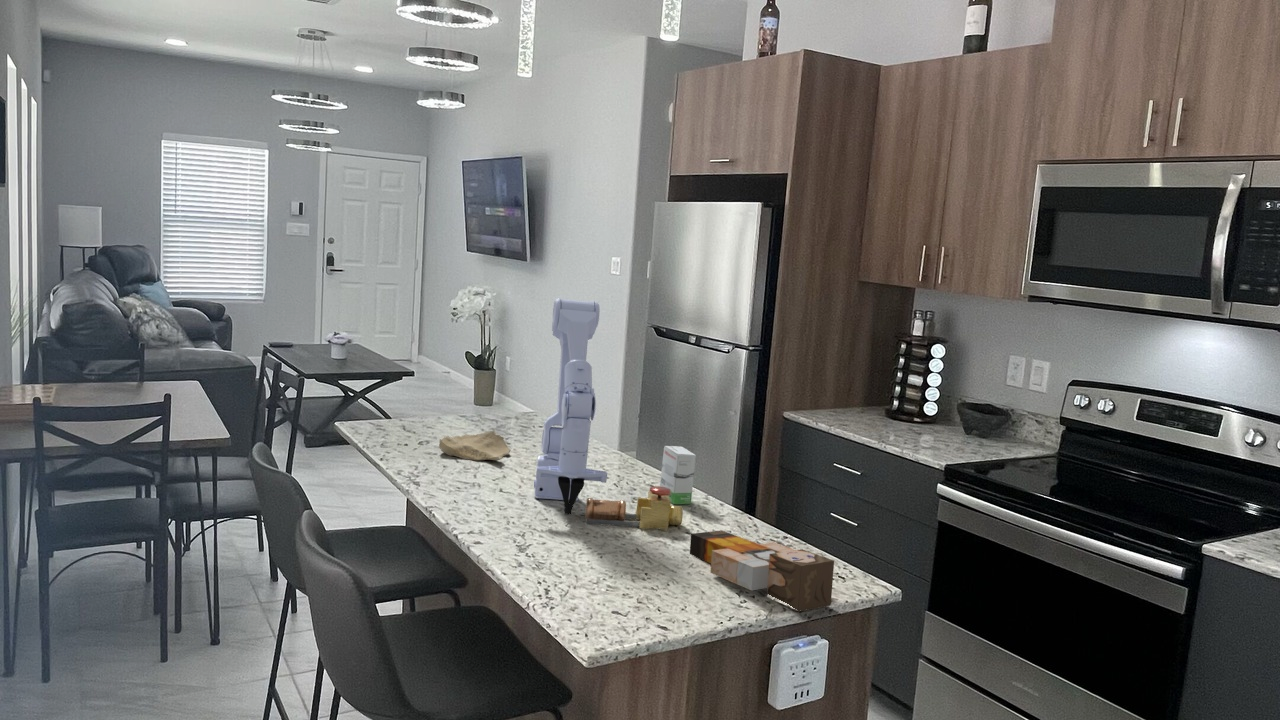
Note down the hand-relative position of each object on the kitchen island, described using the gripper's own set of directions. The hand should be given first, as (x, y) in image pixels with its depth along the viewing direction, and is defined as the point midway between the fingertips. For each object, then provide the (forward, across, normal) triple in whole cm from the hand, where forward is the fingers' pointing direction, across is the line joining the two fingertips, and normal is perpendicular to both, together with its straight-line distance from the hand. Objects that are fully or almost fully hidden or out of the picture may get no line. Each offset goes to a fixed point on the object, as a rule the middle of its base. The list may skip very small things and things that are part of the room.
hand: (567, 512), depth 194 cm
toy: (+2, +34, -28) cm, 44 cm away
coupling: (+1, +8, 0) cm, 8 cm away
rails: (+1, +9, 0) cm, 9 cm away
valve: (+1, +19, 0) cm, 19 cm away
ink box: (+1, +26, +20) cm, 33 cm away
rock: (+2, -20, +47) cm, 51 cm away
